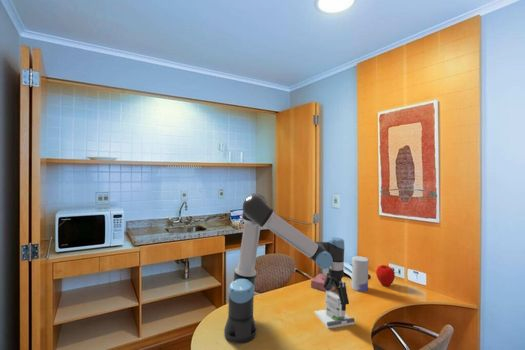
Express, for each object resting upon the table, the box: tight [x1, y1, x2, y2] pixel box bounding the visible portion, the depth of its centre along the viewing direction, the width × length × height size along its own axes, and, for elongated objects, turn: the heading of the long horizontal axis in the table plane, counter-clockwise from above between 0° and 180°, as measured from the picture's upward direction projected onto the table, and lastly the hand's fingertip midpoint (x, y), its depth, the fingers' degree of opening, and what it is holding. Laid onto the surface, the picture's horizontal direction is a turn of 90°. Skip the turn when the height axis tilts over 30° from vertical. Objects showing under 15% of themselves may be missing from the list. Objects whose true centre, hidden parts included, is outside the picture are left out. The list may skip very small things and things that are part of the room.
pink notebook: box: [310, 273, 337, 292], centre depth 176 cm, size 14×15×5 cm
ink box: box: [325, 291, 344, 321], centre depth 137 cm, size 9×5×12 cm, turn 32°
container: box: [351, 255, 370, 293], centre depth 173 cm, size 10×10×20 cm
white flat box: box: [314, 309, 355, 330], centre depth 138 cm, size 15×14×3 cm
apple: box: [375, 264, 396, 288], centre depth 179 cm, size 12×12×13 cm
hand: (334, 309), depth 137 cm, fingers open, 13 cm apart
